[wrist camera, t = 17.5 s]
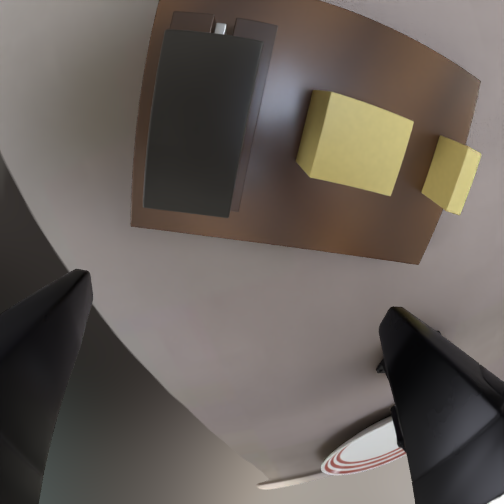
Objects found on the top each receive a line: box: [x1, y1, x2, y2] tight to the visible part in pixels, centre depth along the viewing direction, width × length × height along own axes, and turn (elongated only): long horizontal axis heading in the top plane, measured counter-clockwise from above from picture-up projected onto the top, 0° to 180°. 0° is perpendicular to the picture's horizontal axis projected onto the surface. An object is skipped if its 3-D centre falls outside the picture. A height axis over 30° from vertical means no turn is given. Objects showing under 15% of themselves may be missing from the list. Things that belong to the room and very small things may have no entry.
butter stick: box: [296, 90, 414, 196], centre depth 15 cm, size 5×4×3 cm
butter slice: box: [421, 136, 481, 215], centre depth 17 cm, size 2×4×3 cm, turn 169°
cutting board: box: [131, 0, 481, 265], centre depth 16 cm, size 22×16×4 cm
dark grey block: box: [143, 23, 264, 218], centre depth 12 cm, size 3×8×8 cm, turn 169°
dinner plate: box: [321, 416, 407, 475], centre depth 43 cm, size 27×27×3 cm
